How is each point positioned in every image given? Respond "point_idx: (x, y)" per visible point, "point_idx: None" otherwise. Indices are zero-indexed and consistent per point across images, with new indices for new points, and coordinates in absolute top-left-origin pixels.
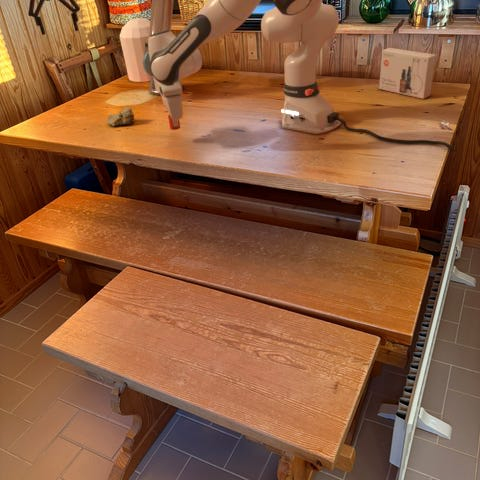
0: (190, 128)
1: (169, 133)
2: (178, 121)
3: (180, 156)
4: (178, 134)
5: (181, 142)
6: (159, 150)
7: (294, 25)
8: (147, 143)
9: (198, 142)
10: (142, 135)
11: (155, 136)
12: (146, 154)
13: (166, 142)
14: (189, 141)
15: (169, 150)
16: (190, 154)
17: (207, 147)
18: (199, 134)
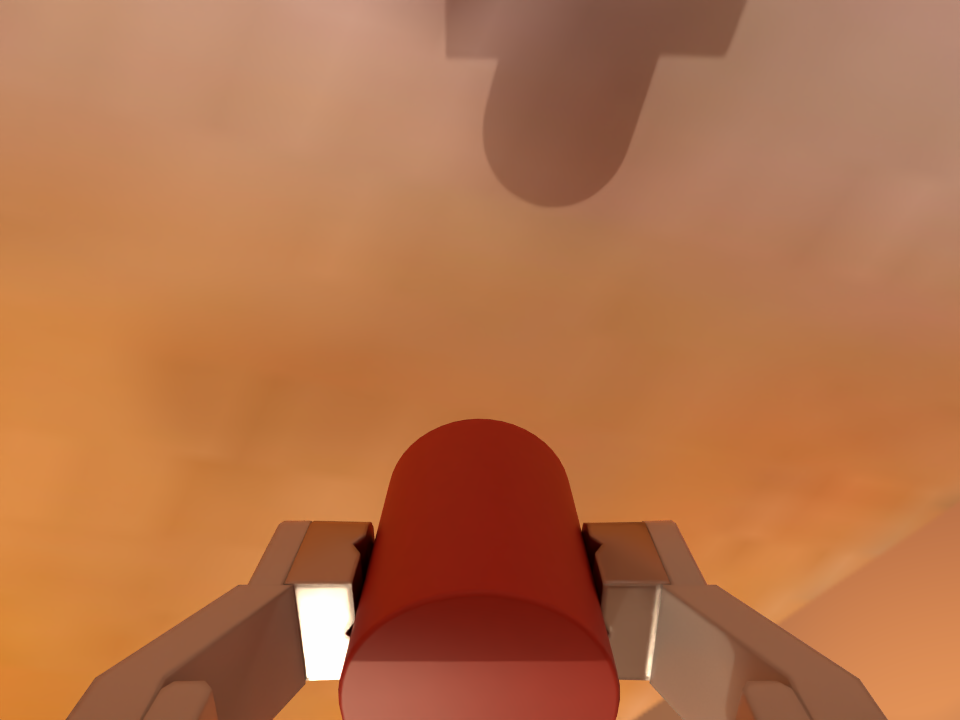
0: (16, 116)
1: (129, 431)
2: (556, 518)
3: (919, 438)
4: (209, 333)
5: (511, 350)
6: None
7: None
8: None
9: (642, 130)
10: None
11: (173, 583)
12: (632, 707)
13: None
14: (534, 245)
15: (672, 513)
16: (953, 323)
17: (905, 44)
18: (334, 34)
